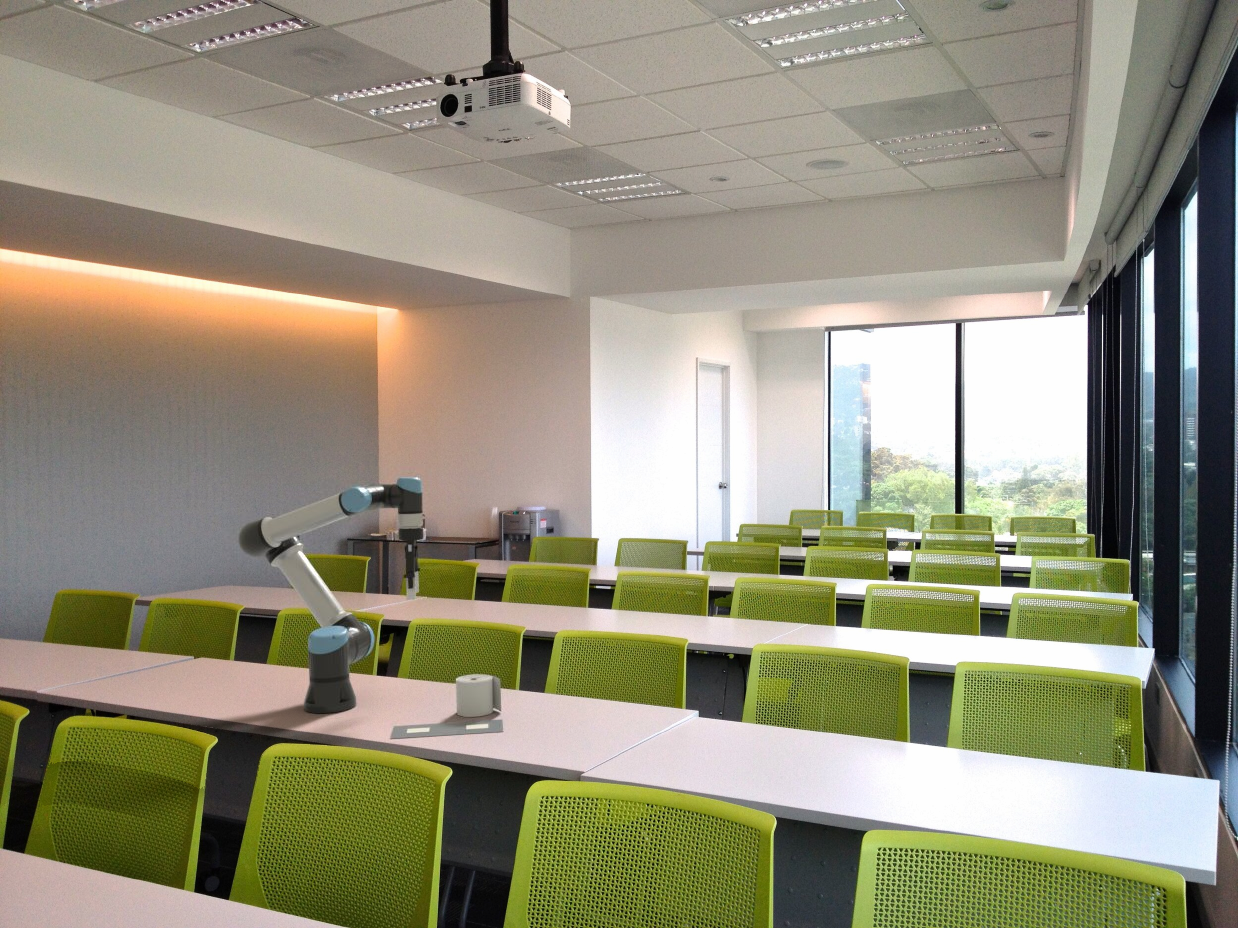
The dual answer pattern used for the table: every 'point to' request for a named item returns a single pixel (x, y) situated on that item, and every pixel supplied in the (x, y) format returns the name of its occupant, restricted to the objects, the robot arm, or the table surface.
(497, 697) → the toilet tissue
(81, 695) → the table surface
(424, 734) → the label mat
